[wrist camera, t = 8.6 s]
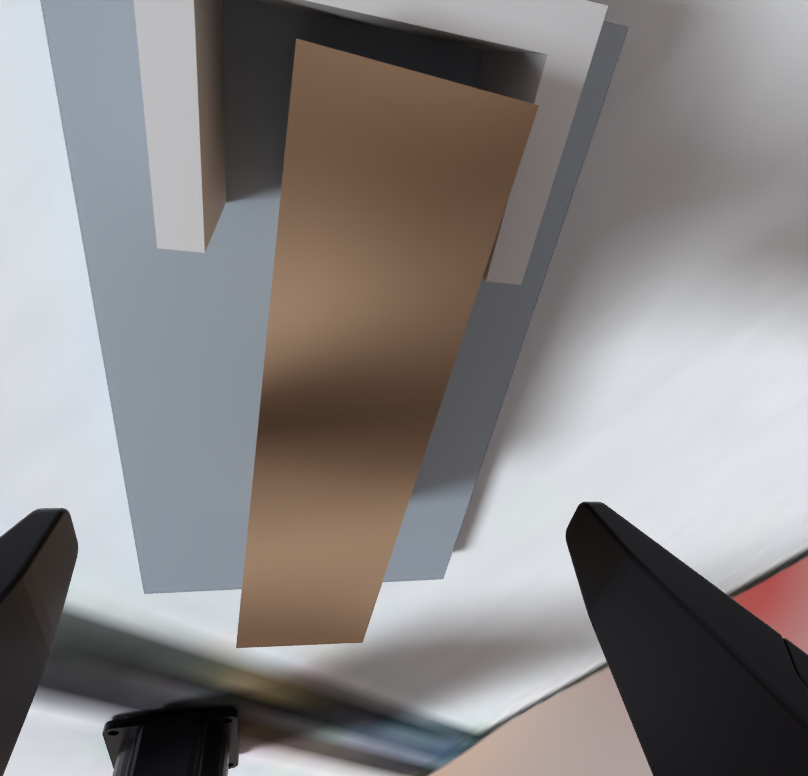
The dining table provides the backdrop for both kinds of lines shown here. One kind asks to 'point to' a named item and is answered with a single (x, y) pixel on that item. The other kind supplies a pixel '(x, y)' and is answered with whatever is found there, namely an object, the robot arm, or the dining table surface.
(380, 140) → the brown wooden block
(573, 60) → the bracket
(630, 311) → the dining table surface
